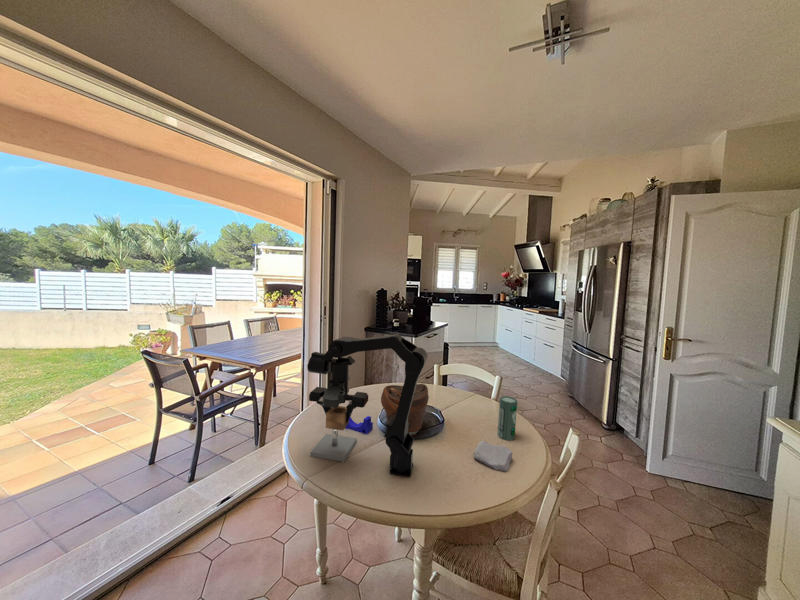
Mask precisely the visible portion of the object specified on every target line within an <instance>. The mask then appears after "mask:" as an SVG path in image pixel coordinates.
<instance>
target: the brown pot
mask: <svg viewBox="0 0 800 600" xmlns="http://www.w3.org/2000/svg"><path fill="white" fill-rule="evenodd" d="M402 389H403V385H397V384H396V385H394V384H390V385H385V387H383V389H382V393H381V396H380V402H381V407H383V409H384V410H385V415H386V419H387V420H386V421H387V424H388V423H389V421H390V419H391V418H392V417H394V418H395V417H396V413H397V409H398V405H399V401H400V397H401V393H402ZM429 399H430V396H429V388H428V386H427V385H426V384H424V383H417V385H416V389H415V393H414V397H413V400H412V404H411V408H410V412H409V416H408V433H409V432H415V431H418V430H420V429H421V430H422V426H423V422H424V418H425V413H426V410H427V406H428V402H429ZM421 430H420V431H421ZM415 435H417V434H415ZM415 435H414V434H411V436H412V437H414V436H415Z"/></svg>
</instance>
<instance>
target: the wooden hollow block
mask: <svg viewBox="0 0 800 600" xmlns="http://www.w3.org/2000/svg"><path fill="white" fill-rule="evenodd" d="M346 415H347V406H341V405H339V406H338V407H336V408H333V407H331V408H330V409H329V411H328V412H327V413H326V414H325V429H330V430H332V429H337V430H338V431H344V430H345V429H346V428H345V427H346V426H347V425H348V423H349V422H350V419H349V421H348V423H346Z"/></svg>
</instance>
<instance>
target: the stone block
mask: <svg viewBox="0 0 800 600" xmlns="http://www.w3.org/2000/svg"><path fill="white" fill-rule="evenodd" d="M512 457H513V451H512V450H511V449H510V448H508V447H507V446H504V445H497V444H496V445H493V444H491V443H488V442H487V441H485V440H483V441H482V440H481V441H480V442H478V444H477V446H476V448H475V449H474V451H473V458H474V459H475V460H477V461H478V462H480V463H482V464H484V465H486V466H487V467H489V468H491V469H494V470H495V471H501V472H508V471H509V469H510V465H511V462H512V460H513V459H512Z"/></svg>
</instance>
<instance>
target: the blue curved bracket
mask: <svg viewBox="0 0 800 600" xmlns="http://www.w3.org/2000/svg"><path fill="white" fill-rule="evenodd" d="M373 427H374V423H373V422H372V416H369V415H367V416H366V417H365V418H363V422H359V423H357V422H355V421H354V420H353V419H352V416H350V422H349V423H348V425H347V426H346V427H345V429H348V430H351V431H354V432H357V433H359V434H364V435H368V434H369V433H370V432H371V431H372V430H373Z"/></svg>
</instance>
